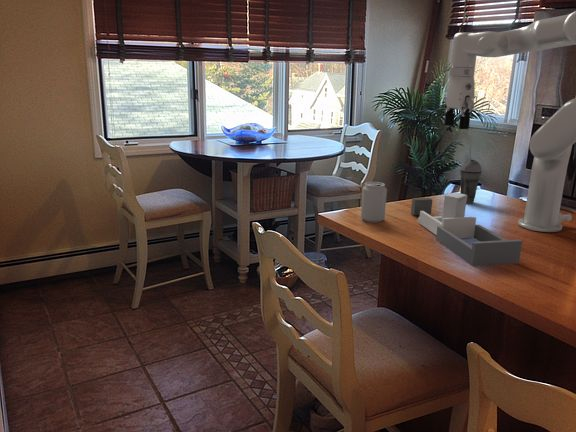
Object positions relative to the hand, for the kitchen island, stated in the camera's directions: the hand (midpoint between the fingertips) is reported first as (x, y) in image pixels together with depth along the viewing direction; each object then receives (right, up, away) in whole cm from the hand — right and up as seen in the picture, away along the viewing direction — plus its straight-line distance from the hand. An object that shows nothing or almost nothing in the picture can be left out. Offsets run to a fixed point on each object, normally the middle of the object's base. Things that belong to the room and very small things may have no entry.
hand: (456, 127), depth 174 cm
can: (-28, -31, -5) cm, 42 cm away
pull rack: (-9, -32, -10) cm, 35 cm away
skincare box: (-7, -35, -17) cm, 39 cm away
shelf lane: (-5, -39, -31) cm, 50 cm away
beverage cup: (+10, -24, +18) cm, 32 cm away
